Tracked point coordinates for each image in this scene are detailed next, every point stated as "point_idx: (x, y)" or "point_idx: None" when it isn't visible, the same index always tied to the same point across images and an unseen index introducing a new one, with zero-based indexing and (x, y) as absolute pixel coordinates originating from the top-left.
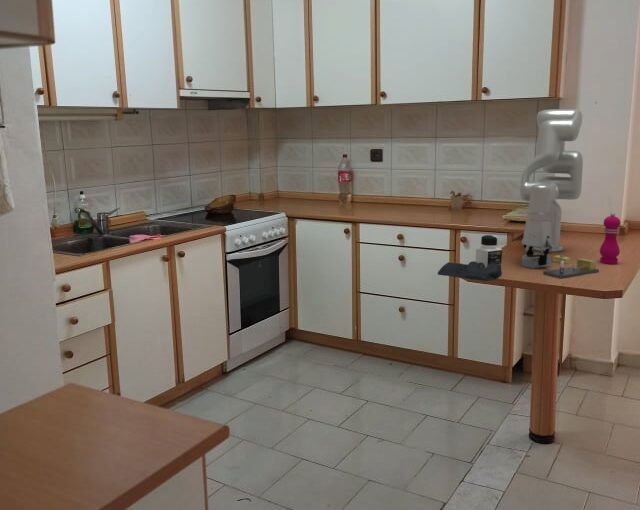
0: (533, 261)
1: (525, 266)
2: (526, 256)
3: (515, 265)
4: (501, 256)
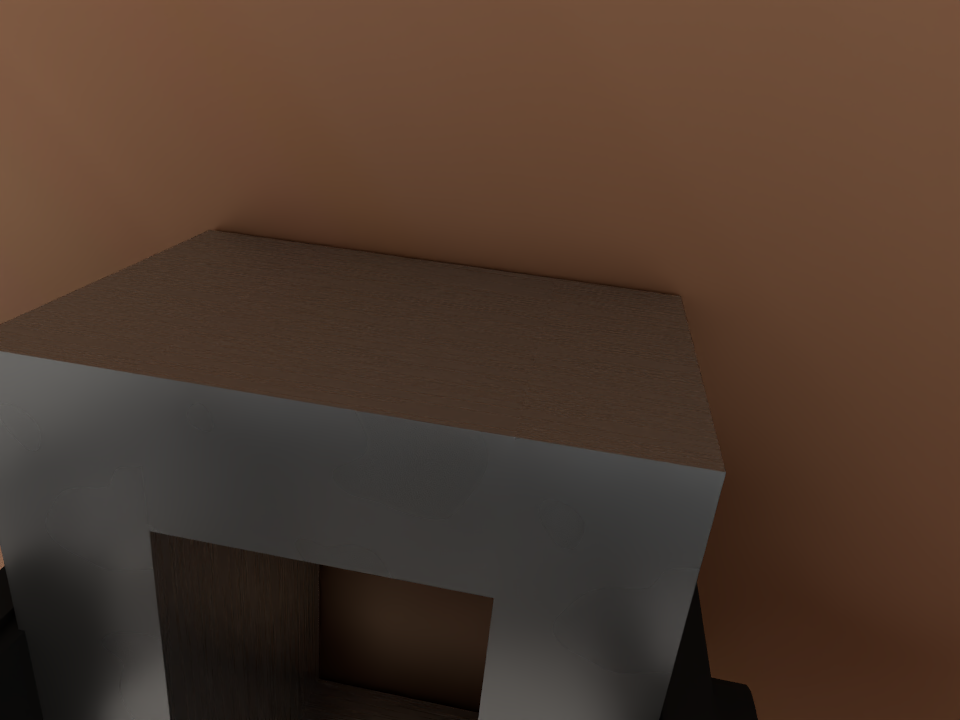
0: (84, 296)
1: (521, 277)
2: (446, 445)
3: (877, 199)
4: None
